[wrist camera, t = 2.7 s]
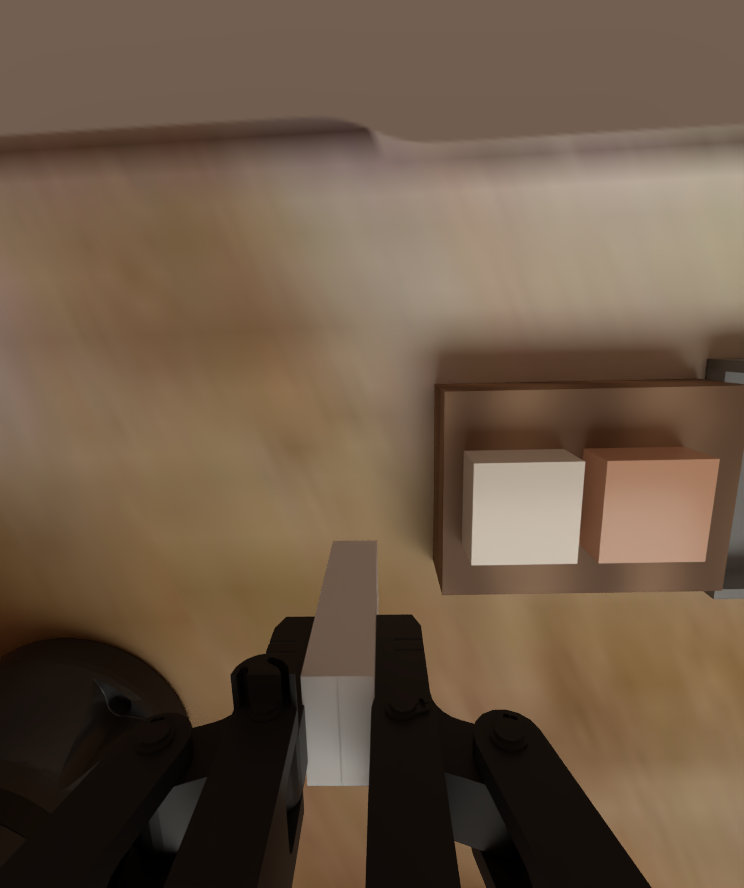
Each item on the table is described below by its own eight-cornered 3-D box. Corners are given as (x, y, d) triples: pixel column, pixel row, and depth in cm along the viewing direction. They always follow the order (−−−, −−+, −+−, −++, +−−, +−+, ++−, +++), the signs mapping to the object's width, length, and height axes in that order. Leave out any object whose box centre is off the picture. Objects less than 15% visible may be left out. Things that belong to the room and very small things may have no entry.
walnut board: (433, 560, 29) (442, 594, 25) (434, 384, 27) (444, 391, 23) (675, 557, 29) (722, 590, 25) (698, 378, 27) (753, 385, 23)
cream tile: (461, 543, 25) (471, 565, 22) (463, 450, 23) (474, 463, 21) (557, 541, 24) (577, 563, 22) (563, 448, 23) (585, 461, 21)
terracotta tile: (576, 541, 24) (598, 563, 22) (583, 448, 23) (607, 461, 21) (672, 539, 24) (705, 561, 22) (683, 446, 23) (720, 458, 21)
